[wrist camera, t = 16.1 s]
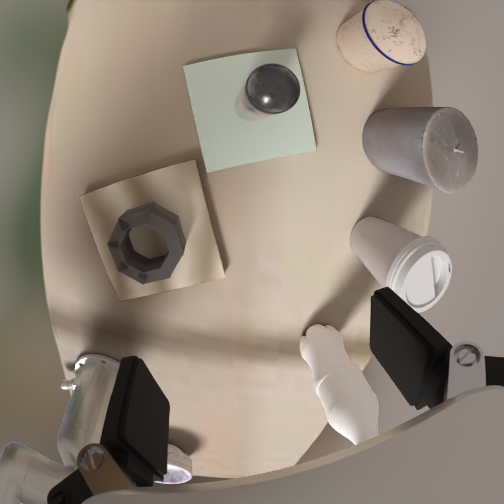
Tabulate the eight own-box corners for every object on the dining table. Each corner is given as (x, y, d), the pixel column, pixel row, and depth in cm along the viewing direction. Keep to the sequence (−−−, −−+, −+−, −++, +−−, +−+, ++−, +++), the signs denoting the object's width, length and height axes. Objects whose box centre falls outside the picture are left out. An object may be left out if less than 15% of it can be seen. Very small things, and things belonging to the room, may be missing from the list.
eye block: (122, 296, 39) (112, 317, 34) (83, 194, 33) (65, 203, 28) (224, 272, 40) (227, 292, 35) (195, 158, 34) (192, 162, 29)
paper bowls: (148, 429, 53) (145, 457, 46) (203, 448, 58) (204, 474, 51) (125, 448, 56) (122, 472, 49) (174, 465, 62) (174, 487, 54)
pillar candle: (412, 112, 34) (485, 114, 20) (413, 174, 38) (484, 196, 24) (359, 106, 33) (429, 98, 20) (361, 174, 37) (429, 197, 23)
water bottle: (312, 313, 45) (379, 442, 22) (343, 326, 47) (412, 440, 24) (288, 344, 47) (334, 473, 24) (319, 355, 49) (371, 470, 26)
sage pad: (207, 172, 34) (206, 173, 33) (183, 68, 29) (182, 66, 28) (314, 150, 35) (316, 150, 34) (293, 50, 29) (295, 48, 28)
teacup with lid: (388, 81, 32) (442, 72, 21) (332, 65, 31) (377, 44, 20) (387, 16, 27) (434, -6, 17) (333, -3, 26) (372, -36, 15)
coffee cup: (390, 261, 43) (446, 309, 30) (338, 269, 42) (387, 327, 29) (395, 204, 39) (462, 238, 26) (341, 208, 39) (402, 248, 25)
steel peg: (230, 93, 30) (241, 67, 18) (265, 87, 30) (294, 61, 18) (237, 125, 32) (252, 117, 20) (271, 119, 32) (305, 109, 20)
